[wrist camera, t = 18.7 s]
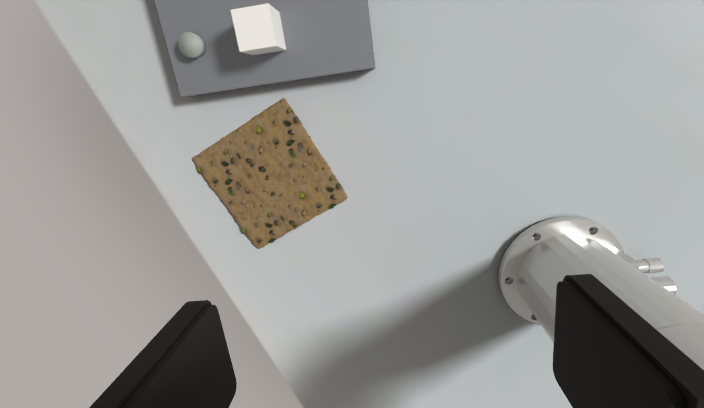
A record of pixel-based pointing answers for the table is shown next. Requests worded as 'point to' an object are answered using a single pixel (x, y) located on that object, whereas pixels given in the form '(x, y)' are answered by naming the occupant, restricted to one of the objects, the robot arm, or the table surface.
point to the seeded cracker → (270, 175)
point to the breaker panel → (304, 33)
